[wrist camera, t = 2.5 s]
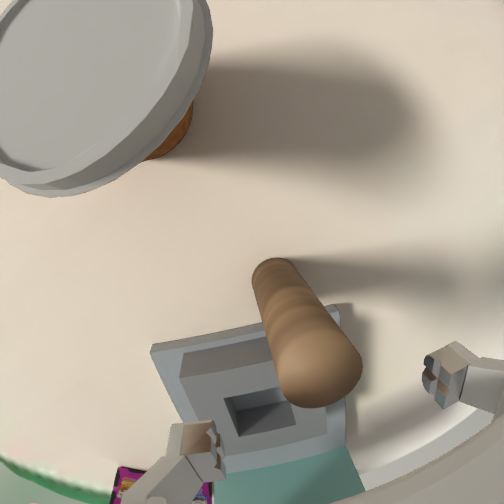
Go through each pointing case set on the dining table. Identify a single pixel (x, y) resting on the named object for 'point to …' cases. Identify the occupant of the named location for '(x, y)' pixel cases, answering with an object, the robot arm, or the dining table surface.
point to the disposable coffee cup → (95, 87)
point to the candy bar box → (129, 477)
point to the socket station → (258, 420)
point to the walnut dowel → (303, 338)
